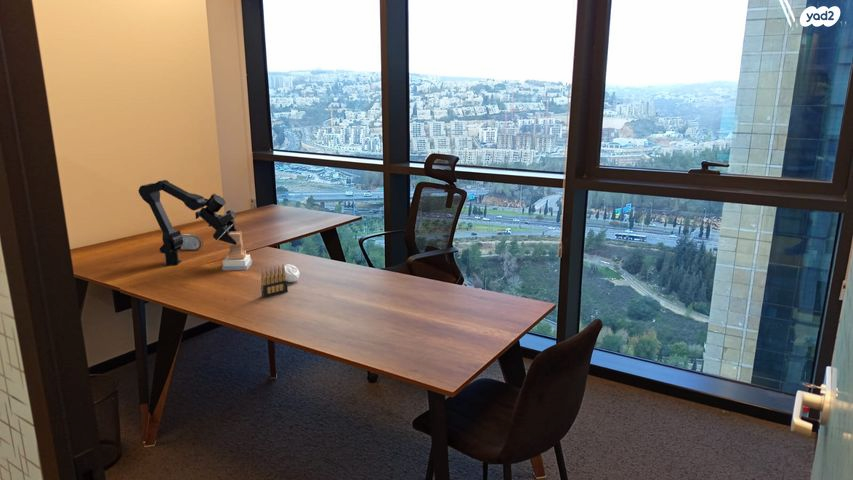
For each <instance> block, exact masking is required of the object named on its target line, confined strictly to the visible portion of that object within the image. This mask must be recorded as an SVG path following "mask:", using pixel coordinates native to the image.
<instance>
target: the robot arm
mask: <svg viewBox="0 0 853 480" xmlns="http://www.w3.org/2000/svg"><path fill="white" fill-rule="evenodd" d="M137 191H138V194H139V196H140V197H141V199H142V200H143V201H144V202H145V203H146V204H148V205H149V207H150V209H151V211H152V213H153V215H154V217H155V219H156V221H157V224H158V226H159V229H160V230H161V232H162V236H161V238H162V243H163V244H162V245H161V247H160V248H159V252H160V253H161V254H164V258H165V259H164V260H165V262H164V263H163V264H162V265H163V266H178V265H179V264H180V263H182V260H181V259H179V252H178V250H180V249H181V246H182V244H183V239H182V238H183V237H182V235H181V233H182V232H181V231H180V230H176V229H174V228H173V225H172V223H171V221H170V219H169V216H168V215H167V213H166V211H165V208H164V207H163V205H162V202H161V192H160V191H163V192H164V193H167V194H168V195H169V196H172V197H174V198H176V199H178V200H180V201H181V202H182V203H184V204H183V205H184V206H186V207H187V208H188V209H190V210H191V211H196V212H195V220H197V219H199V218H201V219H202V220H203V221H204V222H205V223H207V224H208V227H212V228H213V230H215V232H214V233H213V234H212V236H213V239H214V240H216V241H221V242H224V243H228V244H229V243H231V244H234V245H236V244H237V242H236V241H235V240H234V239H233V238H232V237H231V236H230V235H229V233H230V232H236V231H238V230H237V229H236V221H235V218H237V216H236V213H235V212H234V210H231V209H229V210H227V211H226V212H225V214H223V215H222V214H217V213H219V212H220V210H221V209H222V208H223V207H224V206H225V205H226V200H225V198H223V197H222V196H220V195H218V194H217V193H212V194H211V195H210V197H209V198H205V197H204V196H202V195H199V194H196V193H191V192H188V191H187V190H184V189H182V188H181V187H179V186H177V185H175V184H174V183H171V182H170V181H169V180H166V179H162V180H158V181H156V182H154V183H147V184H144V185H140V186H139V189H138V190H137ZM197 210H199V211H197Z"/></svg>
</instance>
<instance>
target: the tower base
mask: <svg viewBox="0 0 853 480" xmlns="http://www.w3.org/2000/svg"><path fill="white" fill-rule="evenodd" d="M252 264H253V259H252V258H250V261H249V262H248V263H247V264H246V266H223V265H222V267H221V269H222V271H247V270H248V269H249V268H250V267H251V265H252Z"/></svg>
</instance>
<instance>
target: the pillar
mask: <svg viewBox="0 0 853 480" xmlns="http://www.w3.org/2000/svg"><path fill="white" fill-rule="evenodd" d="M242 233H243V232H242V230H239V231H238V230H237V231H236V232H230V233H229V235H230V236H231V237H232V238H233V239H234V240H235V241H236V242H237V244H236V245H234V244H231V243H228V244H229V245H228V246H229V252H228V253H227V256H228V260H244V258H245V257H246V254H247V251H246V249H245V250H244V243H243V242H244V241H243V234H242Z"/></svg>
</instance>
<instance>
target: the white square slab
mask: <svg viewBox="0 0 853 480" xmlns="http://www.w3.org/2000/svg"><path fill="white" fill-rule="evenodd" d="M250 259H251V254H247V253H246V257H245V258H244V260H228V255H227V256H226V257H225V258H224V259H223V260H222V266H246V264H247V263H248V262H249V261H250Z"/></svg>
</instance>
